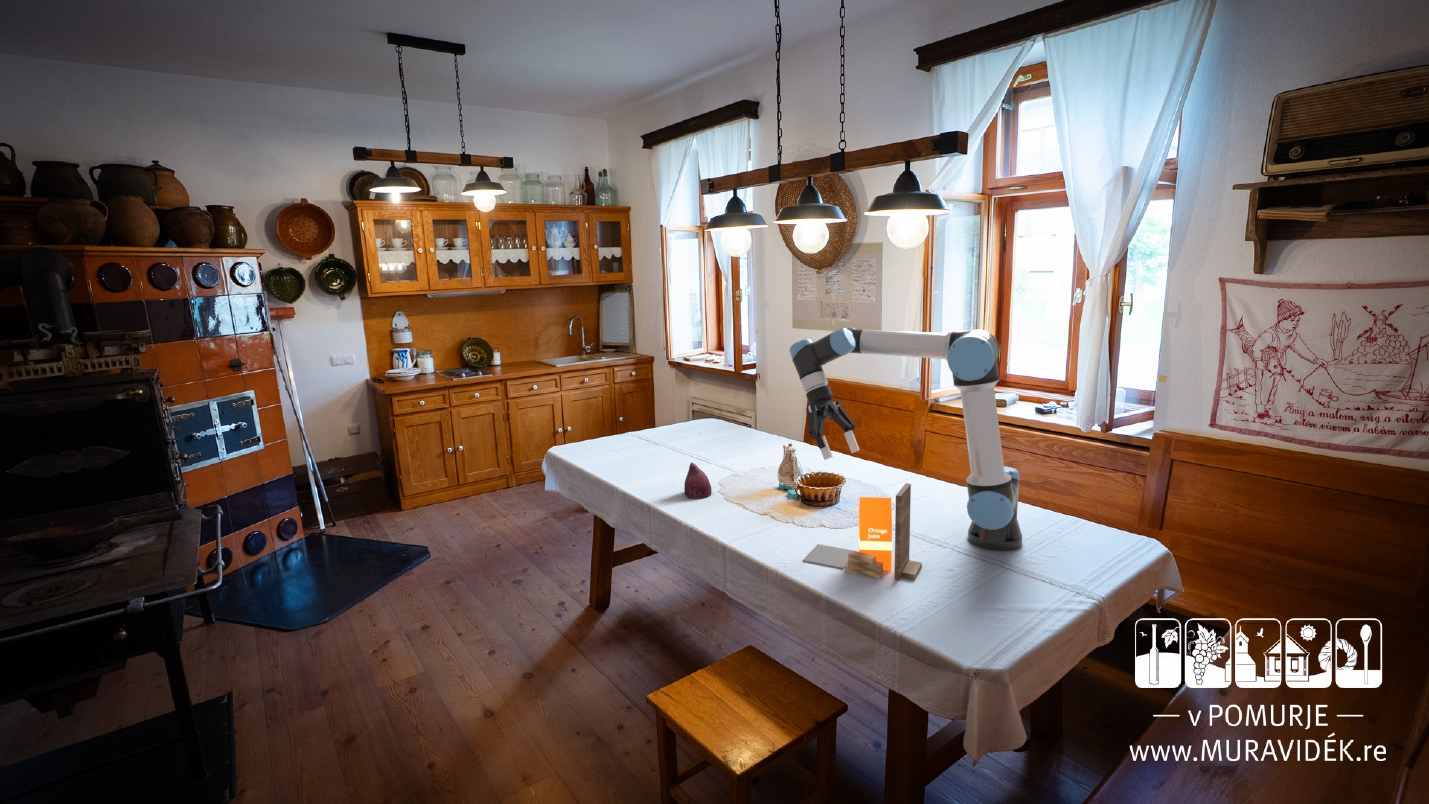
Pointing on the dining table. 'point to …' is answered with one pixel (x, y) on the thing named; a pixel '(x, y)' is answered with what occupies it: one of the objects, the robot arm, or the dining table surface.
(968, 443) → the robot arm
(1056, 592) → the dining table surface
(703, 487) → the vegetable
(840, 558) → the grey mat
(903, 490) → the walnut rack
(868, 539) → the orange juice
